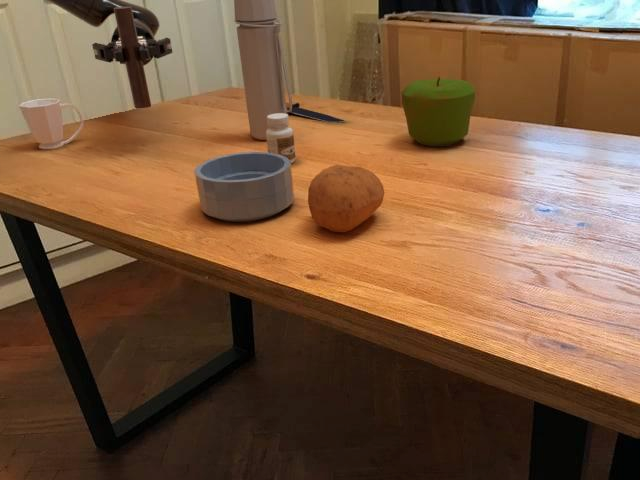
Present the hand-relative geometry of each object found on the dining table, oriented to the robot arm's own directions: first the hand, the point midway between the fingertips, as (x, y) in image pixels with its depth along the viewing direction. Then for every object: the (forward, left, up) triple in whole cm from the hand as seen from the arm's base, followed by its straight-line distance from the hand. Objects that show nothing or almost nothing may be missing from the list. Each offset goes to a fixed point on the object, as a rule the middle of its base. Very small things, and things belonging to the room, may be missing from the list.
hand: (131, 56), depth 109 cm
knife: (+30, +15, -17) cm, 38 cm away
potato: (+22, -44, -17) cm, 52 cm away
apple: (+48, -16, -17) cm, 53 cm away
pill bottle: (+20, -15, -17) cm, 30 cm away
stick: (0, +3, -9) cm, 9 cm away
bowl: (+11, -33, -17) cm, 38 cm away
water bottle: (+22, +1, -17) cm, 28 cm away
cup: (-16, +15, -17) cm, 28 cm away
